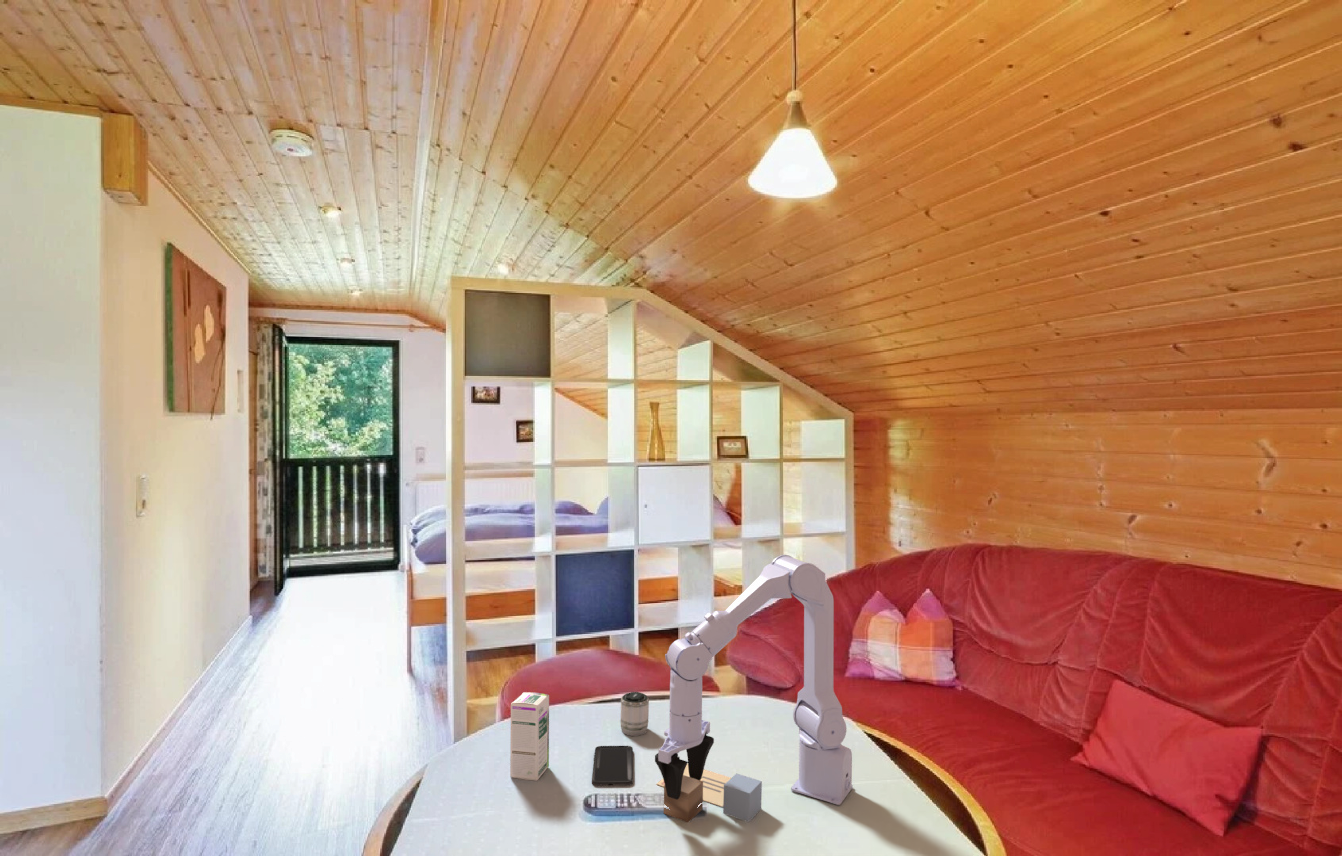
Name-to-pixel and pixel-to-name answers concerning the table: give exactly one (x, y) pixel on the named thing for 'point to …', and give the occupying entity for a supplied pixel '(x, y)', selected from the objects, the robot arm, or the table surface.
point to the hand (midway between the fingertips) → (684, 787)
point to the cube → (742, 797)
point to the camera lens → (634, 713)
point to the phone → (613, 766)
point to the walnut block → (685, 800)
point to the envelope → (709, 786)
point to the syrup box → (529, 736)
